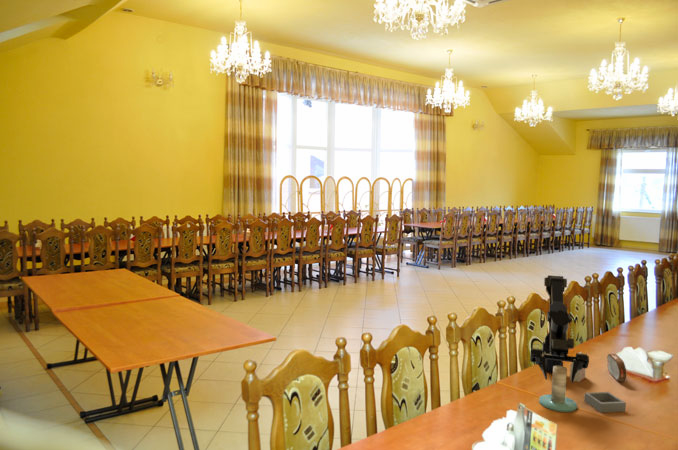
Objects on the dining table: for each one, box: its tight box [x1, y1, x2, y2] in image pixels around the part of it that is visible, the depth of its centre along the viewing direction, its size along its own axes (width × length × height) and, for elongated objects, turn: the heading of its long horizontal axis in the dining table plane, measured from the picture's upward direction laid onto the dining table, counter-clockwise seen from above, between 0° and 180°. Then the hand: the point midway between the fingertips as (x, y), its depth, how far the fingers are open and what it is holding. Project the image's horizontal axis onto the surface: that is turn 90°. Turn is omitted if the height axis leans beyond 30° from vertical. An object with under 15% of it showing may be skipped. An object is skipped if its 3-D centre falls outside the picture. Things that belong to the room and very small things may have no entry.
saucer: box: [538, 394, 578, 413], centre depth 174 cm, size 12×12×1 cm
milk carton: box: [569, 351, 586, 383], centre depth 198 cm, size 4×7×10 cm, turn 138°
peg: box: [551, 365, 568, 404], centre depth 174 cm, size 4×4×12 cm
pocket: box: [583, 391, 627, 413], centre depth 173 cm, size 9×9×3 cm
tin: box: [606, 353, 627, 382], centre depth 200 cm, size 15×3×8 cm, turn 168°
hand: (559, 380), depth 172 cm, fingers open, 8 cm apart
